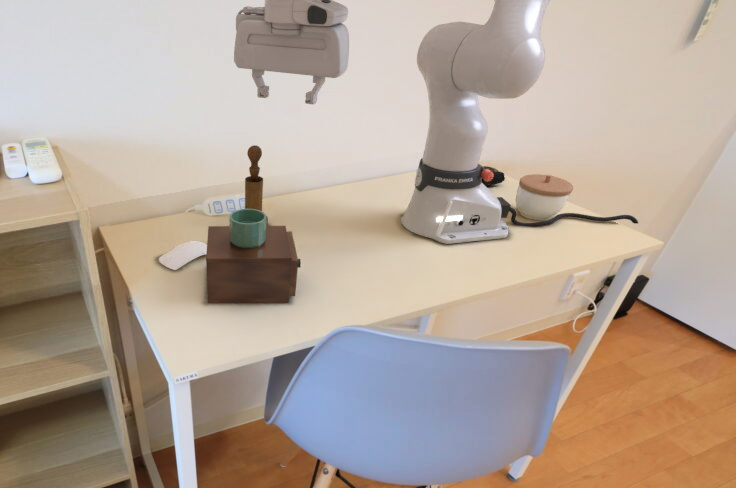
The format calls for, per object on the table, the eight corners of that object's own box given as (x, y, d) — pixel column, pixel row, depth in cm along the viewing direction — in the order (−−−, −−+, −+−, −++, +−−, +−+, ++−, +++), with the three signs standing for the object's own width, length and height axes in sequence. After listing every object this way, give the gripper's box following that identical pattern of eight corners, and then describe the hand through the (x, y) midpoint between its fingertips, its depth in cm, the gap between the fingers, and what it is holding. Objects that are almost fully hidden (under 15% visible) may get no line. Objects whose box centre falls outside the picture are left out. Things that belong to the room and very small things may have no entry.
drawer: (295, 265, 102) (298, 231, 98) (301, 296, 93) (305, 260, 89) (221, 265, 103) (220, 231, 98) (220, 297, 94) (219, 261, 89)
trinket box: (536, 228, 116) (552, 187, 110) (499, 210, 123) (512, 171, 118) (570, 219, 119) (588, 179, 113) (532, 202, 127) (546, 164, 121)
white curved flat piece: (154, 259, 107) (153, 249, 105) (201, 242, 112) (201, 232, 111) (173, 272, 102) (172, 261, 101) (220, 253, 108) (220, 243, 107)
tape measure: (481, 190, 133) (485, 176, 131) (463, 181, 138) (467, 167, 136) (502, 186, 135) (507, 172, 133) (483, 177, 140) (488, 163, 138)
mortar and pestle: (268, 221, 120) (271, 141, 109) (267, 233, 115) (270, 151, 104) (239, 220, 121) (240, 141, 110) (237, 232, 116) (237, 151, 105)
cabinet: (282, 267, 103) (285, 225, 98) (288, 302, 93) (291, 257, 88) (209, 268, 104) (208, 226, 98) (207, 303, 94) (206, 258, 88)
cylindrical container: (270, 236, 94) (271, 212, 91) (257, 252, 90) (258, 226, 87) (237, 230, 96) (238, 206, 93) (224, 245, 92) (223, 220, 89)
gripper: (226, 7, 86) (227, 97, 95) (343, 13, 77) (332, 111, 86) (245, 4, 90) (244, 90, 99) (358, 9, 82) (346, 103, 90)
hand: (286, 100), depth 92 cm, fingers open, 8 cm apart
